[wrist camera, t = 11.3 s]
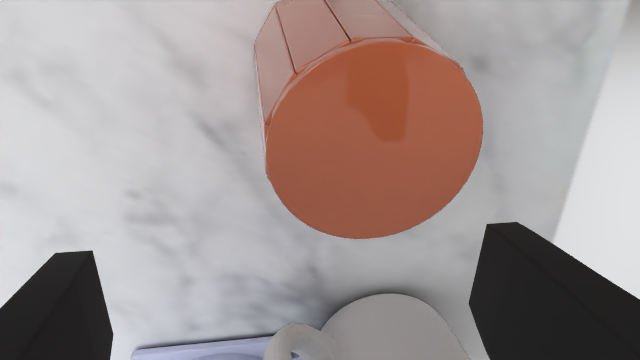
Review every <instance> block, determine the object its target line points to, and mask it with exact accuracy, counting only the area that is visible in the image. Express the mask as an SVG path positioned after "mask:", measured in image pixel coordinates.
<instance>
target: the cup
mask: <svg viewBox="0 0 640 360" xmlns="http://www.w3.org/2000/svg"><path fill="white" fill-rule="evenodd" d="M291 352H294V353H296V354H298V355H299V356H300V357H302V358H303V359H304V360H470V359H469V357H468V356H467V354H466V352H465V351H464V349H463V348H462V346H461V344H460V343H459V341H458V339H457V338H456V336H455V335H454V333H453V332H452V330H451V329H450V327H449V326H448V324H447V323H446V321H445V320H444V319H443V318H442V317H441V316H440V314H439V313H438V312H437V311H436V310H435V309H433V308H432V307H431V306H429V305H428V304H426V303H425V302H423V301H421V300H419V299H417V298H414V297H411V296H407V295H402V294H390V293H389V294H378V295H372V296H368V297H365V298H361V299H359V300H356V301H354V302H352V303H350V304H348V305H347V306H345V307H343V308H341V309H340V310H339V311H338V312H336V313H335V314H334V315H333V316H332V317H331V318H330V319H329V320H328V321H327V322H326V323H325V325H324V326H323V328H322V329H321V331H319V330H317V329H315V328H313V327H311V326H308V325H304V324H299V323H292V324H288V325H286V326H284V327H282V328H281V329H280V330H279V331H278V332H277V333H276V334H275V335H274V336H273V337H272V338H271V340H270V341H269V343H268V345H267V347H266V349H265V353H264V357H263V360H292V356H291Z"/></svg>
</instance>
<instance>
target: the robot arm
mask: <svg viewBox="0 0 640 360" xmlns="http://www.w3.org/2000/svg"><path fill="white" fill-rule="evenodd" d="M469 306H470V309H471V312H472V314H473V317H474V320H475V323H476V326H477V329H478V331H479V334H480V337H481V339H482V342H483V344H484V347H485V349H486V352H487V354H488V356H489V358H490V360H640V299H638V298H636V297H635V296H633V295H631V294H630V293H628V292H627V291H625V290H623V289H622V288H620V287H619V286H617V285H615V284H614V283H612V282H611V281H609V280H608V279H606V278H604V277H603V276H601V275H600V274H598V273H596V272H595V271H594V270H592V269H590V268H589V267H587V266H586V265H584V264H583V263H581V262H580V261H578V260H577V259H575V258H573V257H572V256H570V255H569V254H567V253H566V252H564V251H563V250H561V249H560V248H558V247H557V246H555V245H554V244H552V243H551V242H549V241H547V240H546V239H544V238H543V237H541V236H540V235H538V234H536V233H535V232H533V231H532V230H530V229H528V228H527V227H525V226H523V225H521V224H519V223H518V222H511V223H496V224H487V226H486V230H485V234H484V239H483V243H482V247H481V252H480V256H479V261H478V265H477V269H476V274H475V278H474V282H473V287H472V291H471V295H470V300H469ZM272 337H273V336H270V337H260V338H250V339H240V340H230V341H220V342H210V343H199V344H189V345H179V346H169V347H159V348H149V349H140V350H136V351H135V352H133V353H132V355H131V360H263V357H264V353H265V349H266V347H267V345H268V343H269V341H270V340H271V338H272ZM112 341H113V331H112V327H111V323H110V319H109V315H108V311H107V307H106V303H105V299H104V295H103V291H102V287H101V283H100V279H99V275H98V271H97V267H96V263H95V259H94V255H93V251H79V252H64V253H55V254H54V255H53V256H52V257H51V258H50V259H49V260H48V261H47V262H46V263H45V264H44V265H43V266H42V267H41V268H40V269H39V270H38V271H37V272H36V273H35V274H34V275H33V276H32V277H31V278H30V279H29V280H28V281H27V282H26V283H25V284H24V285H23V286H22V287H21V288H20V289H19V290H18V291H17V292H16V293H15V294H14V295H13V296H12V297H11V298H10V299H9V300H8V301H7V302H6V303H5V304H4V305H3V306H2V307H1V308H0V360H110V356H111V348H112ZM291 356H292V360H304V359H303V358H302V357H300V356H299V355H298V354H296V353H294V352H291Z"/></svg>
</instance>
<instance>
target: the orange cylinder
mask: <svg viewBox="0 0 640 360" xmlns="http://www.w3.org/2000/svg"><path fill="white" fill-rule="evenodd" d="M254 56H255V76H256V88H257V97H258V106H259V115H260V124H261V133H262V142H263V151H264V160H265V169H266V174H267V177H268V179H269V180H270V182H271V183H272V186H273V188H274V190H275V192H276V194H277V195H278V197H279V199H280V200H281V202H282V203H283V204H284V205H285V206H286V208H287V209H288V210H289V211H290V212H291V213H292V214H293V215H295V216H296V217H297V218H298V219H299V220H301V221H302V222H304V223H305V224H307V225H308V226H310V227H312V228H314V229H316V230H319V231H321V232H324V233H327V234H330V235H333V236H338V237H343V238H353V239H370V238H378V237H384V236H388V235H393V234H396V233H399V232H402V231H405V230H408V229H410V228H412V227H414V226H416V225H418V224H420V223H422V222H424V221H425V220H427V219H429V218H430V217H432V216H433V215H435V214H436V213H437V212H439V211H440V210H441V209H442V208H443V207H445V206H446V205H447V204H448V203H449V202H450V201H451V200H452V199H453V198H454V197H455V196H456V194H457V193H458V192H459V191H460V190H461V188H462V187H463V185H464V184H465V183H466V181H467V180H468V178H469V176H470V174H471V172H472V170H473V168H474V166H475V164H476V161H477V159H478V155H479V152H480V148H481V143H482V135H483V119H482V113H481V107H480V104H479V101H478V98H477V95H476V93H475V91H474V89H473V87H472V85H471V83H470V82H469V80H468V79H467V78H466V75H465V73H464V71H463V68H462V67H461V66H460V65H459V64H458V63H457V62H456V61H455V60H454V59H453V58H452V57H451V56H450V55H449V54H448V53H446V52H445V51H444V50H443V49H442V48H441V47H440V46H439V45H438V44H437V43H436V42H434V41H433V40H432V39H431V38H430V37H429V36H428V35H427V34H426V33H425V32H423V31H422V30H421V29H420V28H419V27H418V26H417V25H416V24H415V23H414V22H413V21H411V20H410V19H409V18H408V17H407V16H406V15H405V14H404V13H403V12H402V11H400V10H399V9H398V8H397V7H396V6H395V5H394V4H393V3H392V2H391V1H389V0H281V1H280V2H278V3H276V6H274V7H273V8H272V10H271V12H270V14H269V16H268V18H267V20H266V21H265V23H264V25H263V27H262V29H261V31H260V33H259V35H258V37H257V38H256V40H255V44H254Z"/></svg>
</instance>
